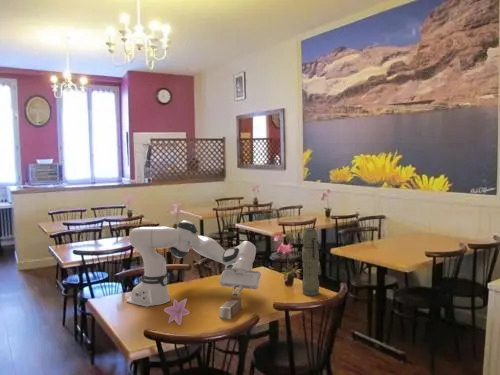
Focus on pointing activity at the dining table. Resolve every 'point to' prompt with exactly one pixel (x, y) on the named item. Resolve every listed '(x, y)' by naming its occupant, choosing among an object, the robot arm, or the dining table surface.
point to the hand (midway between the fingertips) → (235, 294)
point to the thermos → (310, 263)
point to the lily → (177, 311)
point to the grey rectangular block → (230, 308)
